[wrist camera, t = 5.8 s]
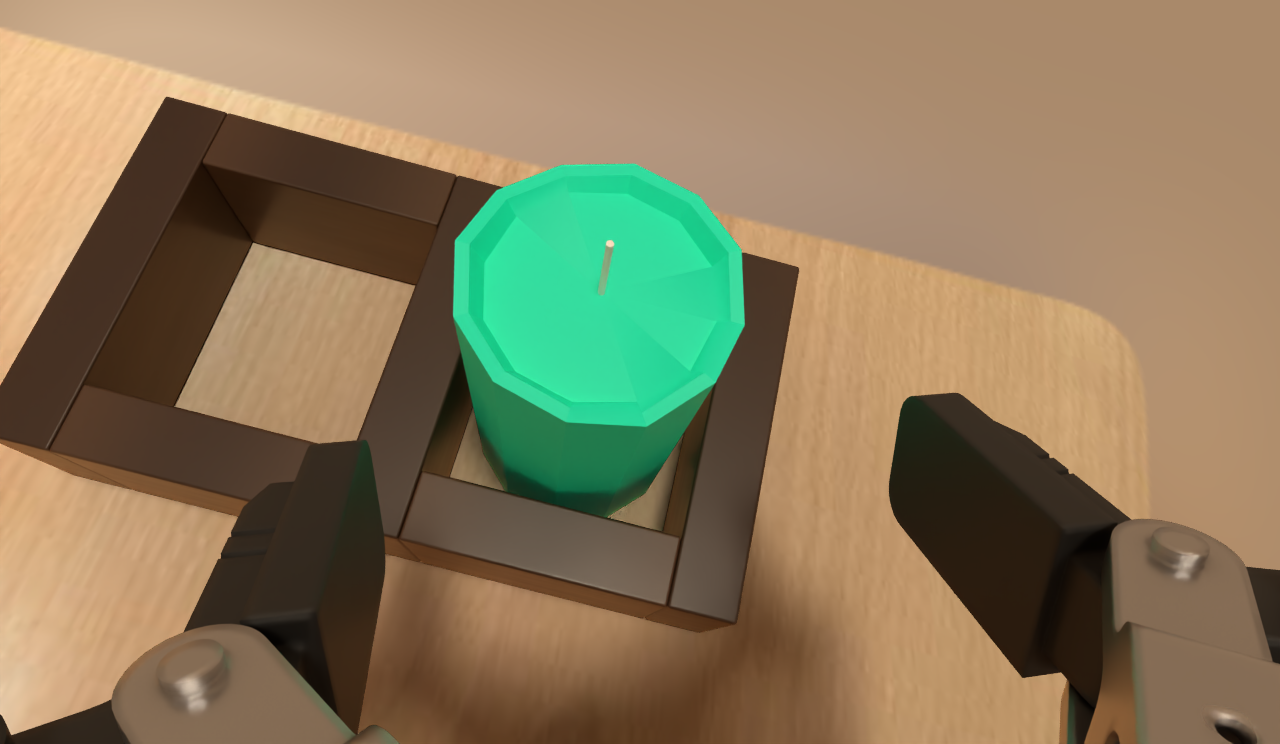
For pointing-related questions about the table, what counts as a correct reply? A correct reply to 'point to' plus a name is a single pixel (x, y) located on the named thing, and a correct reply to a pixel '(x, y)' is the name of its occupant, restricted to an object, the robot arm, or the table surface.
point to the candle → (592, 328)
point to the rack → (408, 388)
